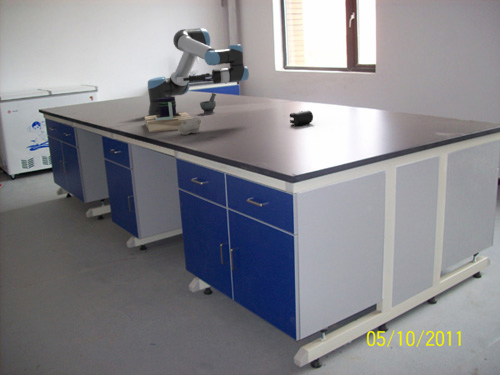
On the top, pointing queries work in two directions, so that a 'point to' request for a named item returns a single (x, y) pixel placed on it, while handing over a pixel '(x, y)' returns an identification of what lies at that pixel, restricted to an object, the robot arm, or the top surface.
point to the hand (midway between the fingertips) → (176, 80)
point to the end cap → (301, 118)
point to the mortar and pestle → (208, 105)
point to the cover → (169, 113)
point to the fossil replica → (189, 126)
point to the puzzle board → (165, 122)
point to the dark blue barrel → (166, 106)
